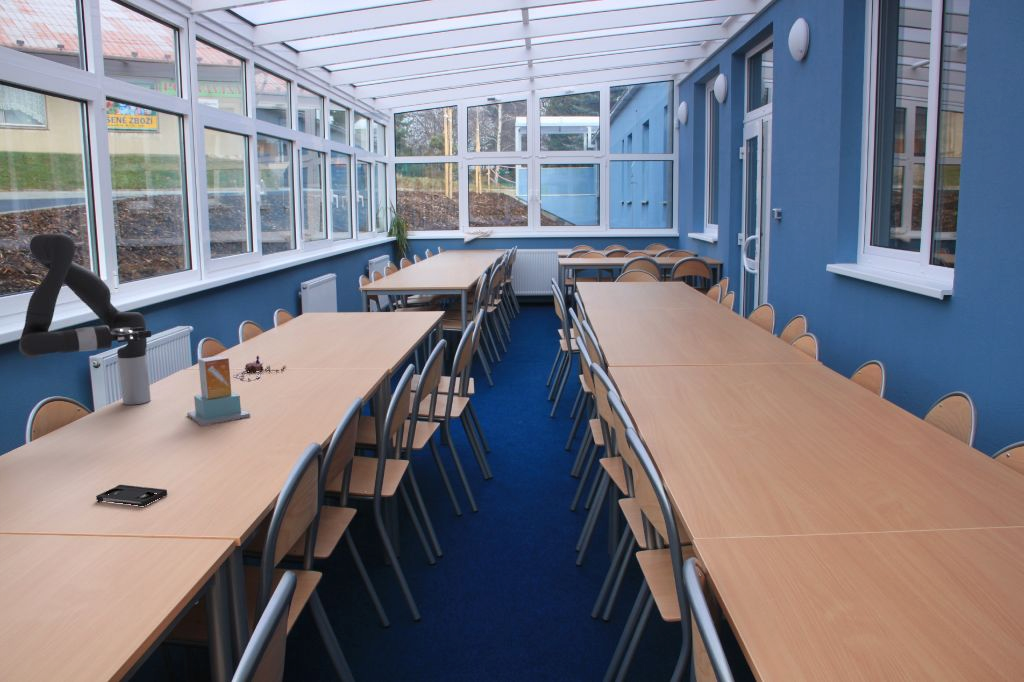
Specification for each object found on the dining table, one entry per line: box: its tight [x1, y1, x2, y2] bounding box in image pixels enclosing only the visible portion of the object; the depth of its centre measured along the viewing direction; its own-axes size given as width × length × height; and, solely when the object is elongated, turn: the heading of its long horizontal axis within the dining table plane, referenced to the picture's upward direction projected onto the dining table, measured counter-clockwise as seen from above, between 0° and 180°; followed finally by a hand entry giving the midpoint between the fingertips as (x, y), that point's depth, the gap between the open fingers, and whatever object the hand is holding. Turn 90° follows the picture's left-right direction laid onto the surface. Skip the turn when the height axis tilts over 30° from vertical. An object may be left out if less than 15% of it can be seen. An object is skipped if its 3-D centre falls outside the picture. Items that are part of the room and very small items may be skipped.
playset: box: [233, 355, 287, 380], centre depth 321 cm, size 25×19×7 cm
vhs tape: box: [95, 484, 168, 506], centre depth 188 cm, size 14×8×2 cm, turn 74°
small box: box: [197, 355, 232, 399], centre depth 256 cm, size 8×6×13 cm
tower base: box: [186, 390, 251, 427], centre depth 258 cm, size 16×16×7 cm
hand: (147, 331), depth 253 cm, fingers open, 8 cm apart
